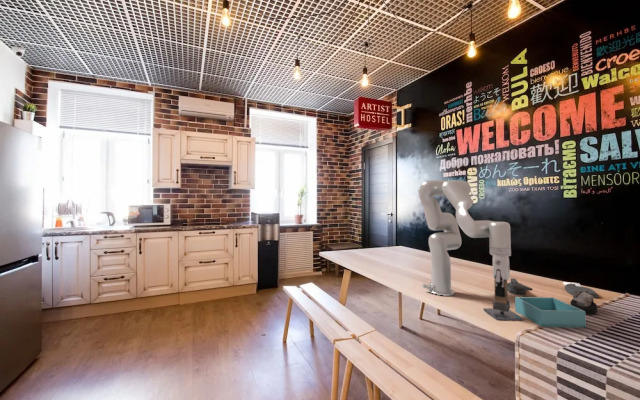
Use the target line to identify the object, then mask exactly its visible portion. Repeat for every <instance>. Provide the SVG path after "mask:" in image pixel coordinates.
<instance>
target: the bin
mask: <svg viewBox="0 0 640 400" xmlns="http://www.w3.org/2000/svg"><path fill="white" fill-rule="evenodd" d="M514 303H515V304H514V305H515V307H514V309H515V312H516V313H517V314H518V315H519V314H520V315H521V316H523V317H525V318H526V319H528V320H530V321H531V322H533V323H534V324H536V325H538V326H539V327H541V328H579V327H583V328H587V323H586V322H587V320H586V317H587V316H586V315H587V314H585V311H583V310H581V309H579V308H576V307H574V306H572V305H571V304H569V303H567V302H565V301H563V300H560V299H558V298H555V297H544V296H543V297H541V296H540V297H538V296H535V297H534V296H533V297H532V296H531V297H529V296H527V297H526V296H525V297H524V296H514Z"/></svg>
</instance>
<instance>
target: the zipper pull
mask: <svg viewBox="0 0 640 400" xmlns="http://www.w3.org/2000/svg"><path fill="white" fill-rule="evenodd" d="M507 289H508V293H509V294H511V295H515V296H527V291H533V290H534V289H533V288H532V287H530V286H527V285H525V284H522V283H519V281H518V280H517V278H511V277H510V281H509V282H507Z"/></svg>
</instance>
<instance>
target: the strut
mask: <svg viewBox="0 0 640 400" xmlns="http://www.w3.org/2000/svg"><path fill="white" fill-rule="evenodd" d="M493 281H494V286H493V288H495V286H496V279H494V280H493ZM500 282H502V281H500ZM507 283H508V280H507V281H505V280H504V287H505V297H499V296H496V292H495V291H494V299H493V301H492V308H493V309H496V310H501V311H506V312H508V311H509V310H511V304H510V303H511V301H510V300H509V296H508V295H509V294H508V293H509V292H508V289H507Z"/></svg>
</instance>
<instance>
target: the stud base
mask: <svg viewBox="0 0 640 400" xmlns="http://www.w3.org/2000/svg"><path fill="white" fill-rule="evenodd" d="M483 311H484V312H485V313H486V314H487V315H489V316H490V317H492V318H493V319H494V320H495V321H523V320H524V319H523V317H522V316H520V315H519V314H518V313H515V312H513V311H512V310H511V309H509V311H508V312H506V311H501V310H496V309H493V307H492V308H489V307H488V308H487V307H486V308H485V307H484V308H483Z"/></svg>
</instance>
